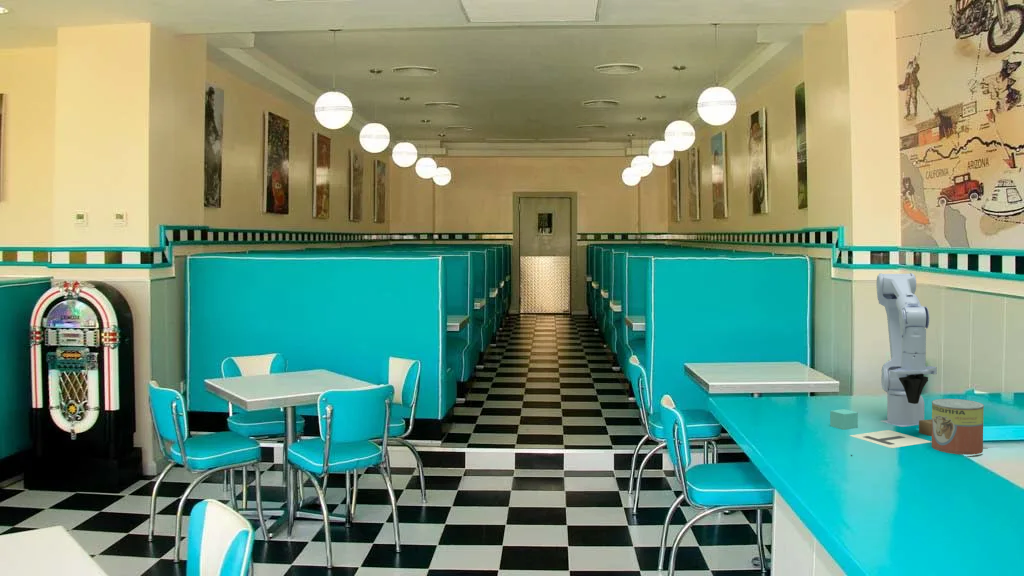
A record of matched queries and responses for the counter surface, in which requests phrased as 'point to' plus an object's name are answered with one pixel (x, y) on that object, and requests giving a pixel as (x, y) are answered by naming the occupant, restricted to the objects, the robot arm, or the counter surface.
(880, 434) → the board
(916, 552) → the counter surface
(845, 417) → the turquoise cube
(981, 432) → the canned food
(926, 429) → the walnut block
